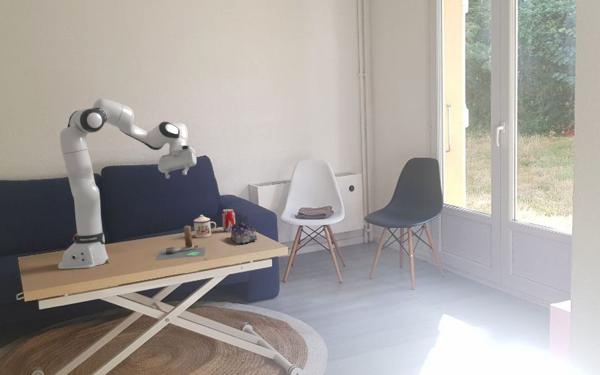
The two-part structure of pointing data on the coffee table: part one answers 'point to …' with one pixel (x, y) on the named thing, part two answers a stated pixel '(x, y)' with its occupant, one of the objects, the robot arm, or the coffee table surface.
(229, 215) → the soda can
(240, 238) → the geode
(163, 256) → the dial plate
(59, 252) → the coffee table surface
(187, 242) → the tuning lever
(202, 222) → the teacup with lid
